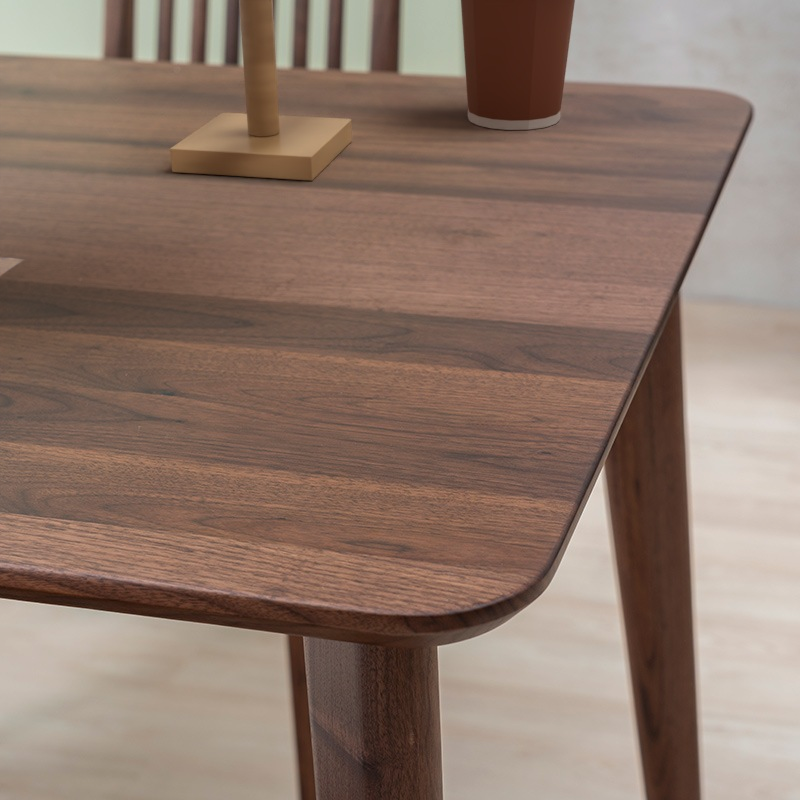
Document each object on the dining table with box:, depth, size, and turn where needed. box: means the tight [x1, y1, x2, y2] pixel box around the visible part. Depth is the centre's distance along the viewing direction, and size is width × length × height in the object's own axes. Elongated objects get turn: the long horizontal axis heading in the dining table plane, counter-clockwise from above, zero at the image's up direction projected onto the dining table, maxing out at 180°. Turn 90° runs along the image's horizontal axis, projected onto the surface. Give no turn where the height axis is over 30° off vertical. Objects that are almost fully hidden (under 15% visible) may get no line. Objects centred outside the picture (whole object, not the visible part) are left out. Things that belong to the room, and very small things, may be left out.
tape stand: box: [169, 0, 353, 182], centre depth 78 cm, size 9×9×10 cm
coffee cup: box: [460, 0, 576, 131], centre depth 85 cm, size 9×9×12 cm
